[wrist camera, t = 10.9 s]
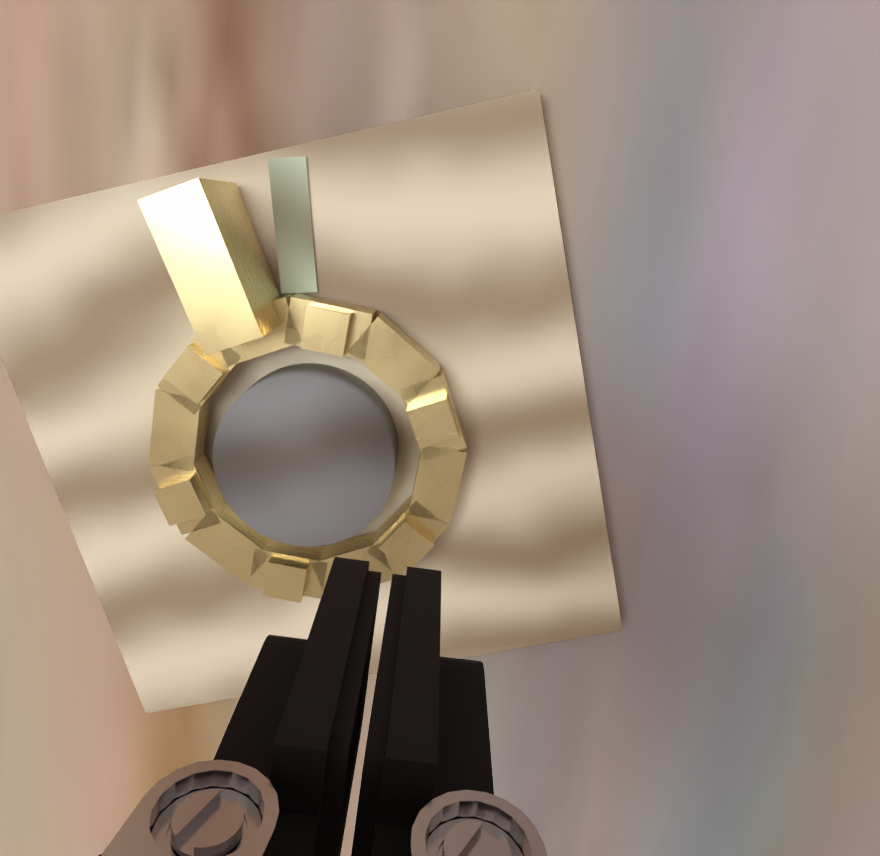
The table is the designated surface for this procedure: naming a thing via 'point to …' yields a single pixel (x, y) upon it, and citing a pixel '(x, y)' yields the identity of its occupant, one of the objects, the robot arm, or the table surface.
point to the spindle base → (374, 252)
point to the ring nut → (261, 332)
